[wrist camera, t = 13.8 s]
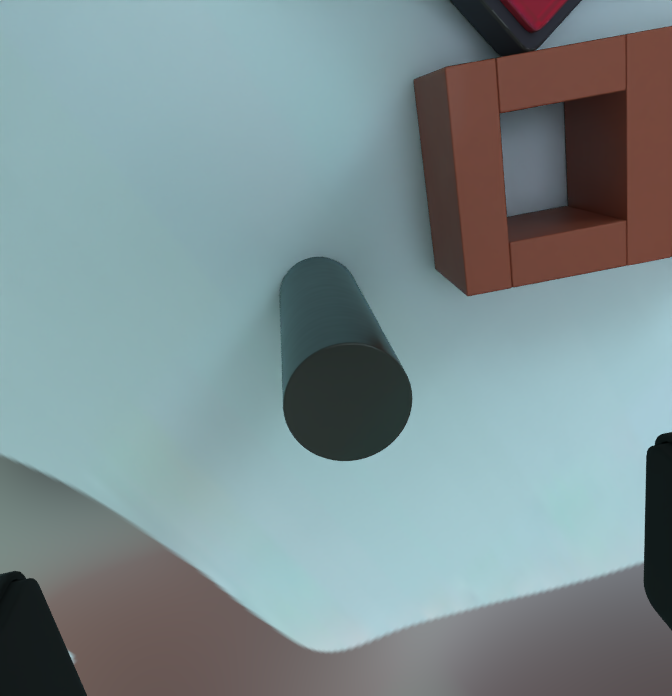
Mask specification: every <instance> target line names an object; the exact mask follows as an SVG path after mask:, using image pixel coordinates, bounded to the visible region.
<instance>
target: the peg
mask: <svg viewBox="0 0 672 696" xmlns="http://www.w3.org/2000/svg"><path fill="white" fill-rule="evenodd" d="M280 327H281V358H282V389H283V411H284V417H285V420H286V423H287V426H288V428H289V430H290V432H291V433H292V435H293V436H294V438H295V439H296V440H297V441H298V442H299V443H300V444H301V445H302V446H303V447H304V448H306V449H307V450H309V451H310V452H312V453H314V454H316V455H318V456H320V457H323V458H326V459H331V460H337V461H352V460H359V459H363V458H367V457H369V456H372V455H374V454H376V453H378V452H380V451H382V450H383V449H385V448H386V447H388V446H389V445H390V444H391V443H392V442H393V441H394V440H395V439H396V438H397V437H398V436H399V434H400V433H401V432H402V430H403V429H404V427H405V425H406V423H407V421H408V418H409V415H410V412H411V407H412V390H411V385H410V382H409V379H408V376H407V374H406V373H405V371H404V369H403V367H402V365H401V363H400V362H399V360H398V358H397V356H396V354H395V352H394V351H393V349H392V347H391V345H390V343H389V342H388V340H387V338H386V336H385V334H384V332H383V331H382V329H381V327H380V325H379V323H378V321H377V320H376V318H375V316H374V314H373V312H372V311H371V309H370V307H369V305H368V303H367V301H366V300H365V298H364V296H363V294H362V292H361V290H360V289H359V287H358V285H357V283H356V281H355V280H354V278H353V276H352V274H351V273H350V272H349V270H348V269H347V268H346V267H345V266H343V265H342V264H341V263H339V262H337V261H335V260H333V259H329V258H325V257H314V258H309V259H305V260H303V261H301V262H299V263H297V264H296V265H295V266H293V267H292V268H291V269H290V270H289V271H288V273H287V274H286V275H285V277H284V279H283V281H282V284H281V287H280Z"/></svg>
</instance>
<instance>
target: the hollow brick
mask: <svg viewBox="0 0 672 696" xmlns="http://www.w3.org/2000/svg"><path fill="white" fill-rule="evenodd" d="M414 89H415V98H416V106H417V115H418V123H419V132H420V141H421V149H422V158H423V166H424V175H425V183H426V192H427V201H428V209H429V218H430V226H431V235H432V244H433V252H434V261H435V269H436V270H437V271H438V272H439V273H441V274H442V275H443V276H444V277H445V278H447V279H448V280H449V281H450V282H451V283H453V284H454V285H455V286H456V287H457V288H458V289H460V290H461V291H462V292H463V293H464V294H466V295H467V296H472V295H477V294H483V293H488V292H493V291H498V290H503V289H508V288H511V287H518V286H524V285H529V284H534V283H539V282H544V281H549V280H555V279H560V278H565V277H570V276H575V275H580V274H586V273H591V272H596V271H601V270H606V269H611V268H617V267H622V266H626V265H633V264H639V263H644V262H649V261H654V260H659V259H664V258H670V257H671V256H672V26H669V27H664V28H658V29H653V30H647V31H642V32H636V33H631V34H626V35H620V36H614V37H609V38H603V39H597V40H592V41H586V42H581V43H575V44H570V45H564V46H559V47H553V48H548V49H542V50H537V51H531V52H526V53H520V54H514V55H509V56H503V57H498V58H495V59H494V58H492V59H487V60H481V61H476V62H470V63H465V64H459V65H454V66H448V67H444V68H442V69H439V70H437V71H434V72H431V73H429V74H426V75H424V76H421V77H419V78H416V79H414ZM560 102H564V111H565V138H566V164H567V191H568V206H563V207H558V208H553V209H547V210H542V211H537V212H532V213H526V214H521V215H516V216H511V217H507V212H506V198H505V185H504V171H503V157H502V143H501V130H500V116H499V113H505V112H511V111H516V110H522V109H527V108H533V107H538V106H543V105H549V104H554V103H560Z"/></svg>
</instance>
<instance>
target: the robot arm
mask: <svg viewBox="0 0 672 696" xmlns="http://www.w3.org/2000/svg"><path fill="white" fill-rule="evenodd" d="M644 587H645V592H646V594H647V597H648V599H649V601H650V603H651V605H652V606H653V608H654V609H655V610H656V612H657V613H658V614H659V615H660V617H661V618H662V619H663V620H664V622H665V623H666V624H667V625H668V626H669V628H670V629H671V630H672V432H670V433H665V434H661V435H660V436H658V437H657V439H656V441H655V446H651V447H650V448H649V449H648V451H647V456H646V501H645V547H644ZM0 696H87V694H86V692H85V690H84V688H83V685H82V683H81V681H80V678H79V676H78V674H77V671H76V669H75V667H74V664H73V662H72V660H71V657H70V655H69V653H68V651H67V648H66V646H65V644H64V642H63V639H62V637H61V634H60V632H59V630H58V628H57V625H56V623H55V621H54V618H53V616H52V614H51V611H50V609H49V607H48V605H47V602H46V600H45V598H44V595H43V593H42V591H41V588H40V586H39V584H38V583H37V581H36V580H35V579H32V578H29V579H26V578H25V576H24V575H23V574H22V573H21V572H18V571H13V572H8V573H3V574H0Z"/></svg>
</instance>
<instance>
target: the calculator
mask: <svg viewBox="0 0 672 696" xmlns="http://www.w3.org/2000/svg"><path fill="white" fill-rule="evenodd" d="M580 1H581V0H451V2H452V3H453V4H454V5H455V6H456V7H457V8H458V9H459V10H460V12H461V13H462V14H463V15H464V16H465V17H466V18H467V19H468V21H469V22H470V23H471V24H472V25H473V26H474V27H475V28H476V30H477V31H478V32H479V33H480V34H481V35H482V36H483V37H484V38H485V40H486V41H487V42H488V43H489V44H490V45H491V46H492V47H493V49H494V50H495V51H496V52H497V53H498V54H499V55H500V56H502V57H503V56H509V55H514V54H520V53H526V52H531V51H534V50H536V49H537V48H538V47H539V46H540V45H541V44H542V43H543V42H544V41H545V40H546V39H547V38H548V37H549V36H550V34H551V33H552V32H553V31H554V30H555V29H556V28H557V27H558V26H559V25H560V23H561V22H562V21H563V20H564V19H565V18H566V17H567V16H568V15H569V14H570V12H571V11H572V10H573V9H574V8H575V7H576V6H577V5H578V4H579V3H580Z"/></svg>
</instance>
